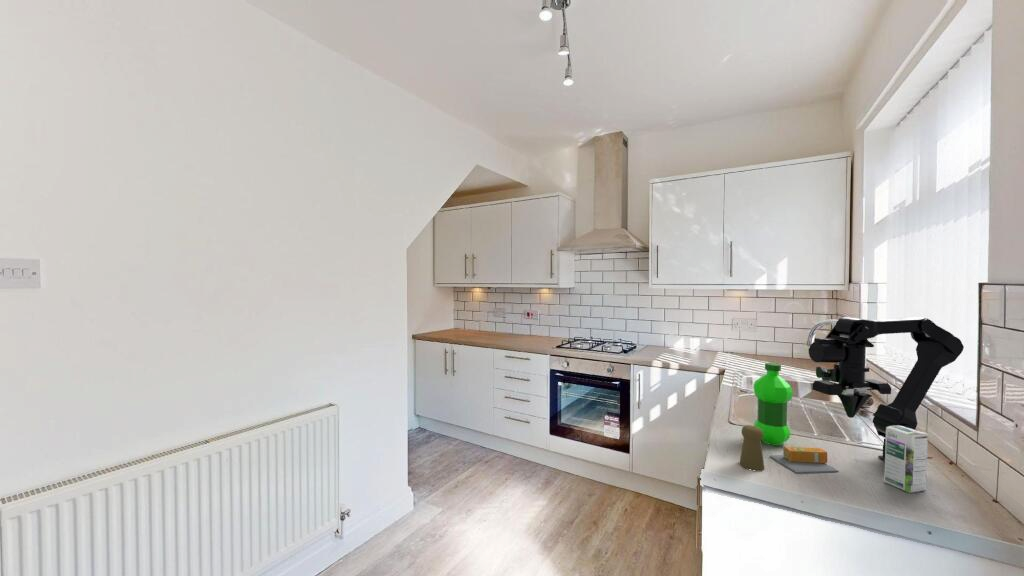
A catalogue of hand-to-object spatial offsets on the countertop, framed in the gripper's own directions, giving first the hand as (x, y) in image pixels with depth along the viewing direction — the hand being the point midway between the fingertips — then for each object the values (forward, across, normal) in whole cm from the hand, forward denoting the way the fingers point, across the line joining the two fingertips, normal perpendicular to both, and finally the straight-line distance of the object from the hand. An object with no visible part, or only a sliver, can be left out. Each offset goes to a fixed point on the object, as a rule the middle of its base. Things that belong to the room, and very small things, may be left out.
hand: (850, 417), depth 113 cm
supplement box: (+11, +7, 0) cm, 13 cm away
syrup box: (+13, -2, +13) cm, 19 cm away
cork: (+13, +29, 0) cm, 32 cm away
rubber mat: (+13, +14, 0) cm, 19 cm away
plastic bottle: (+13, +12, -15) cm, 23 cm away
